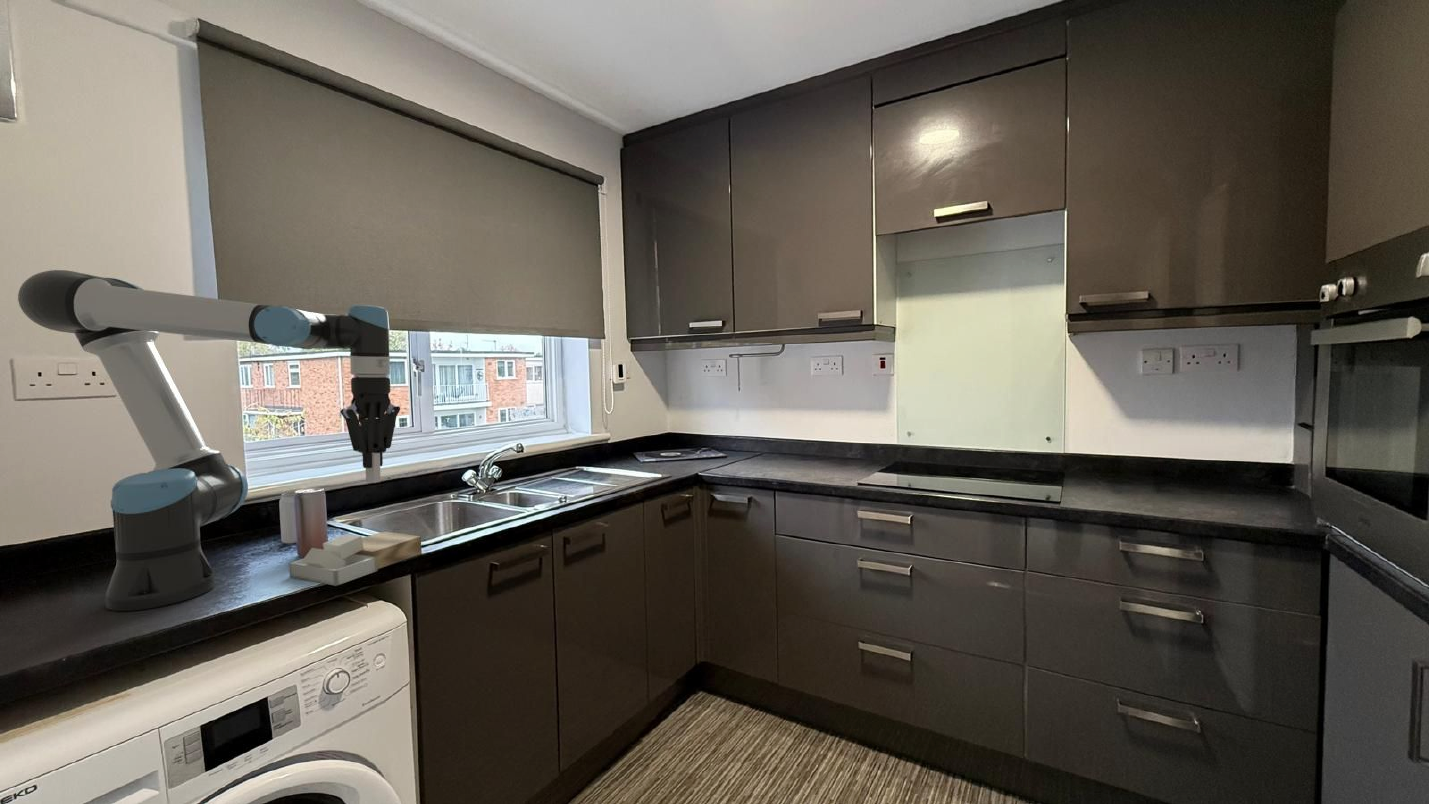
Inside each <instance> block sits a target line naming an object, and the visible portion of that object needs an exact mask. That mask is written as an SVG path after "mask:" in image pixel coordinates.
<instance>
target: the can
mask: <svg viewBox="0 0 1429 804" xmlns="http://www.w3.org/2000/svg"><path fill="white" fill-rule="evenodd" d="M294 495H295V491H290V492H289V491H288V492H285V493H282V494H281V495H280V498H279V501H278V502H279V505H278V506H279V520H280V522H279V523H280V536H281V537H280V538H281V542H282V543H283V544H285V545H293V544H295V545H296V544H297V541H296V524H295V507H294Z"/></svg>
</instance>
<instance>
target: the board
mask: <svg viewBox="0 0 1429 804" xmlns="http://www.w3.org/2000/svg"><path fill="white" fill-rule="evenodd" d="M362 542H363V547H364V549H363V550H361V551H359V552H357V553H355V554H361V555H367V556H374V557H377V570H380V569H382V568H384V567H387V566H390V565H393V564H395V563H398V562H401V561H402V562H403V561H404V560H407V559H410V558H413V557H415V556H419V555H421V554H423V553H422V536H420V535H413V534H404V533H399V532H392V531H391V532H390V531H380V532H377V533H374V534H371V535H367V536H364V537H362Z"/></svg>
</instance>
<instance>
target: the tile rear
mask: <svg viewBox="0 0 1429 804" xmlns="http://www.w3.org/2000/svg"><path fill="white" fill-rule="evenodd" d="M362 538H363V537H362V535H355V534H349V533H345V534H342V535H340V536H337V537H334V538H333V539H330V540H328V542H325V543H323V547H324V550H329V551H330V552H332V553H333V554H335V555H336V556H338V557H339V558H341V559H344V558H346V557H348V556H350V555H352V554H355V553H357V552H359V551H361V550H363V549H364V547H363V542H362Z"/></svg>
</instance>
